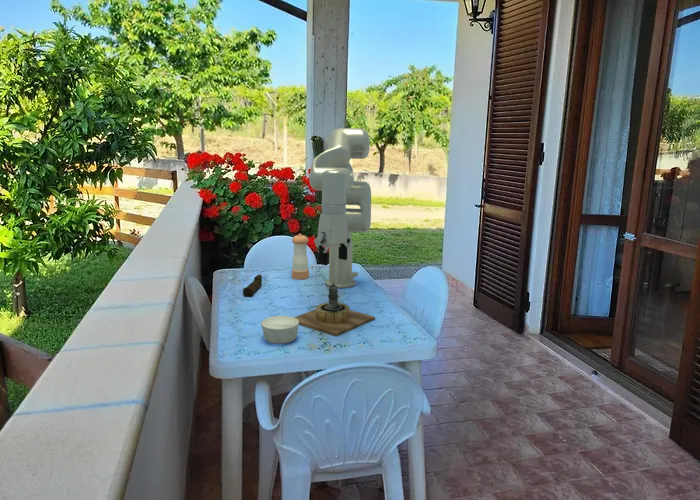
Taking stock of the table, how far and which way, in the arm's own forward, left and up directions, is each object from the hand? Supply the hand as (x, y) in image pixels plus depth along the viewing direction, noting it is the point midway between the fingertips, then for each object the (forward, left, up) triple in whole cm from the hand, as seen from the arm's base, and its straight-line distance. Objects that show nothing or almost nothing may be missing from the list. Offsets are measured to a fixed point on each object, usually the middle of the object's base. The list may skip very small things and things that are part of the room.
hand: (333, 261), depth 167 cm
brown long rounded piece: (-7, -47, -20) cm, 51 cm away
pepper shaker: (-33, -46, -20) cm, 60 cm away
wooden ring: (0, 0, -20) cm, 20 cm away
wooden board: (0, 0, -20) cm, 20 cm away
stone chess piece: (0, 0, -19) cm, 19 cm away
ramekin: (+22, -2, -20) cm, 30 cm away
